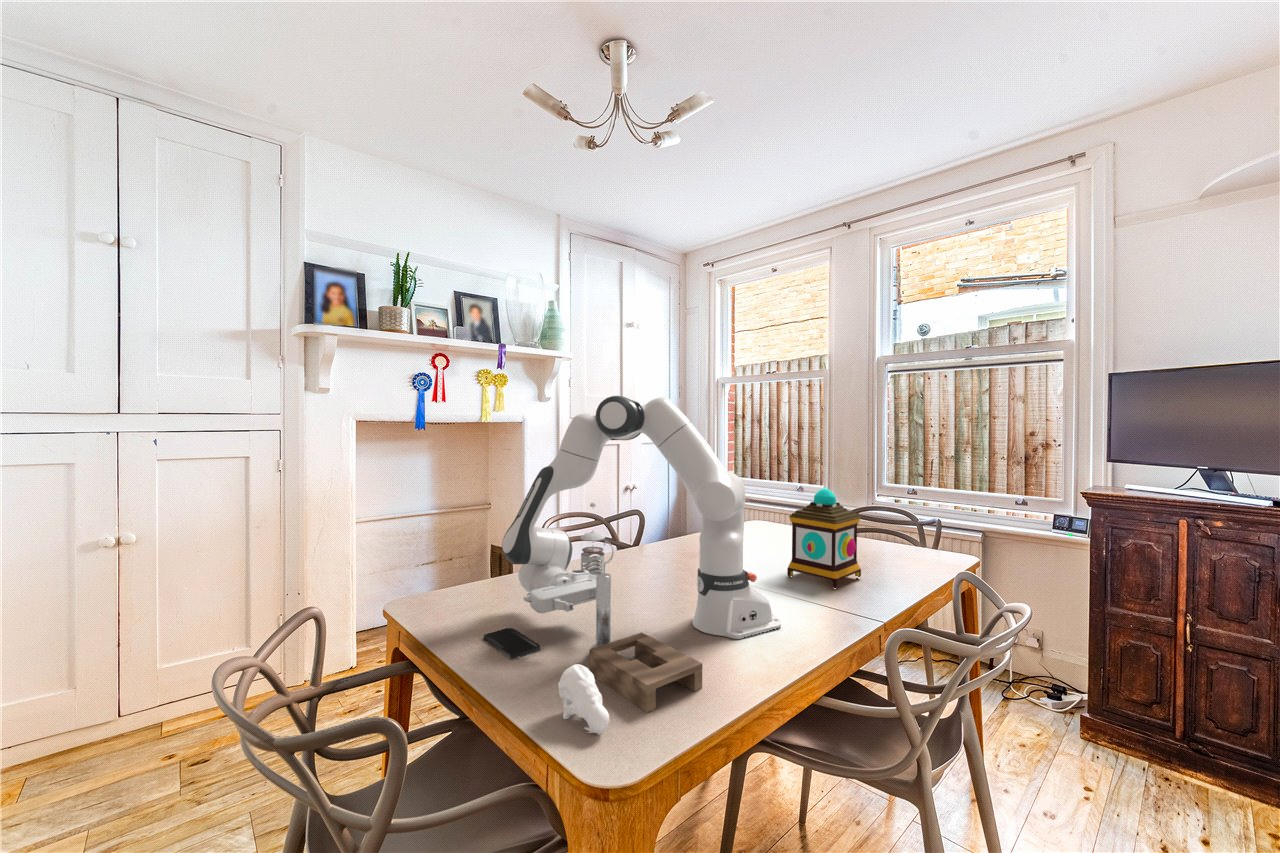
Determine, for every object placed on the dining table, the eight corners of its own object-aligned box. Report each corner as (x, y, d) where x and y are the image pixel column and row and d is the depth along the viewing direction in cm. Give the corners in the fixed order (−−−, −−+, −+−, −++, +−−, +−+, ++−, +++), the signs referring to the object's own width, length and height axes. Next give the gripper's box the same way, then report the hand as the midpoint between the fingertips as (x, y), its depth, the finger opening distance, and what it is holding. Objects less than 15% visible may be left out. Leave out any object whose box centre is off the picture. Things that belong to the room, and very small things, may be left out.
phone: (511, 627, 134) (542, 646, 122) (511, 631, 134) (542, 651, 122) (481, 635, 129) (510, 656, 117) (481, 640, 129) (510, 661, 117)
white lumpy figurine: (586, 656, 100) (621, 689, 90) (584, 699, 101) (618, 736, 91) (556, 665, 96) (589, 700, 87) (553, 709, 97) (586, 749, 87)
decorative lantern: (781, 577, 178) (781, 487, 177) (811, 566, 192) (812, 482, 191) (838, 592, 163) (839, 494, 163) (867, 579, 177) (868, 488, 176)
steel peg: (611, 648, 123) (612, 570, 123) (618, 658, 118) (619, 577, 118) (588, 651, 122) (588, 572, 121) (594, 662, 116) (594, 580, 116)
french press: (577, 574, 180) (578, 500, 180) (612, 573, 182) (612, 500, 181) (577, 583, 171) (577, 505, 170) (614, 582, 172) (614, 505, 171)
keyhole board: (589, 672, 112) (589, 649, 111) (641, 654, 120) (641, 632, 120) (647, 712, 97) (647, 685, 97) (702, 688, 106) (702, 663, 105)
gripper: (520, 583, 129) (548, 599, 118) (591, 568, 142) (622, 581, 131) (520, 609, 129) (548, 627, 118) (591, 592, 142) (622, 606, 131)
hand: (587, 603), depth 125 cm, fingers open, 8 cm apart
